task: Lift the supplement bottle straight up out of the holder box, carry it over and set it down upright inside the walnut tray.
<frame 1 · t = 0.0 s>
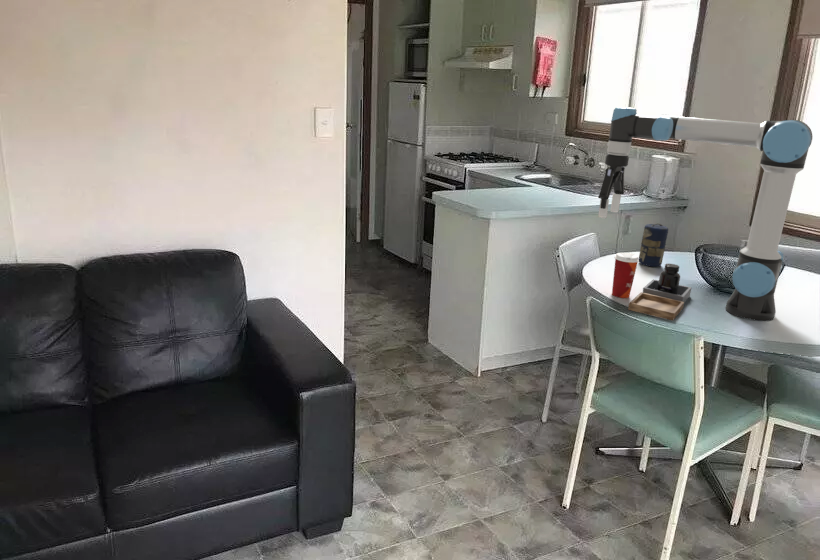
hand: (608, 214, 224), 28 cm above the table, tool pointing down, fingers open, 13 cm apart
supplement bottle: (665, 297, 230), resting in holder box
coffee cup: (620, 295, 228), on the table
holder box: (665, 296, 230), on the table
canister: (649, 265, 270), on the table
tray: (655, 309, 216), on the table
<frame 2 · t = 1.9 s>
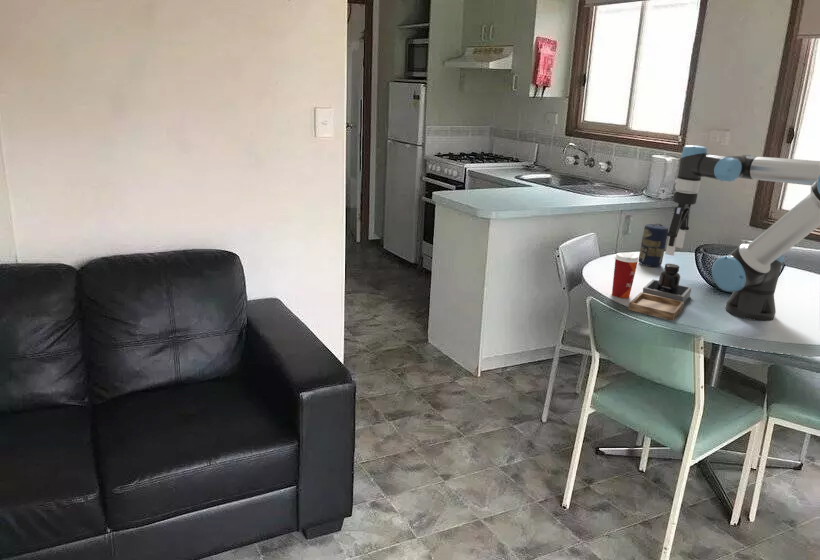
hand: (674, 251, 224), 17 cm above the table, tool pointing down, fingers open, 13 cm apart
nothing on the table moved.
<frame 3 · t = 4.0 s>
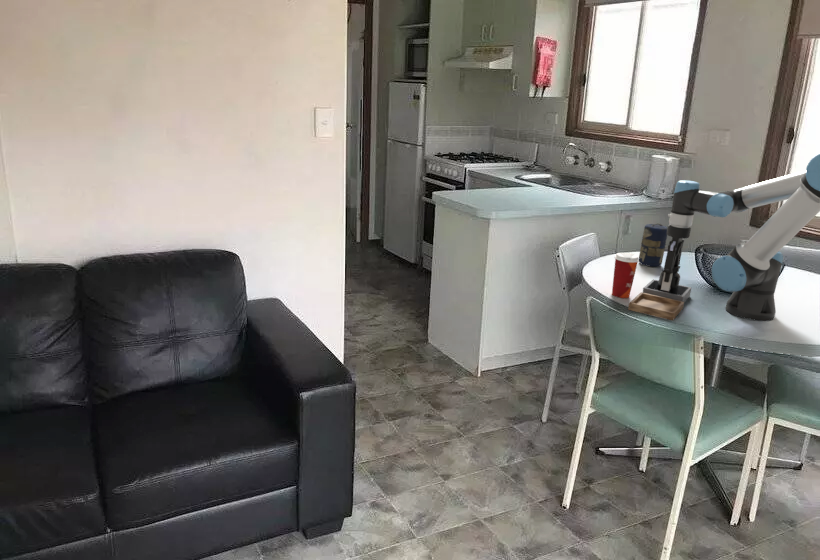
hand: (667, 287, 228), 4 cm above the table, tool pointing down, fingers closed on supplement bottle, 7 cm apart
supplement bottle: (665, 297, 230), resting in holder box, touching gripper
everything else where it was.
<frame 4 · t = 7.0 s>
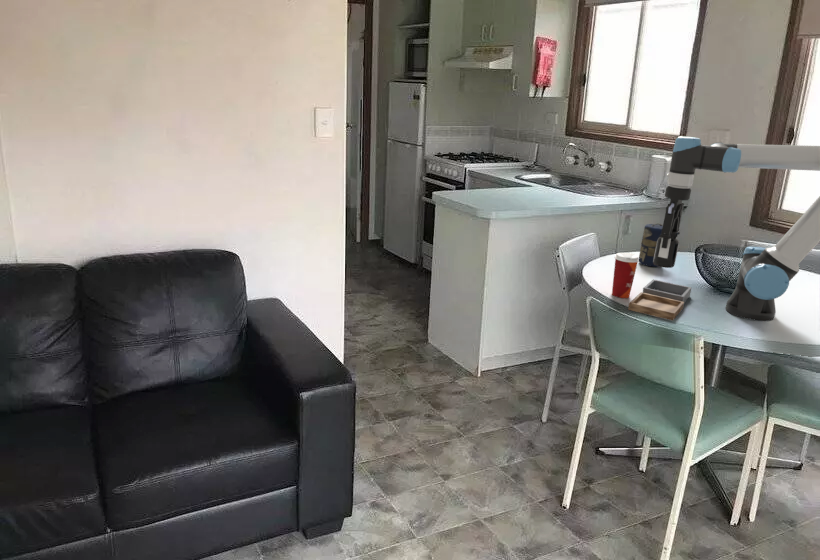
hand: (665, 255, 211), 19 cm above the table, tool pointing down, fingers closed on supplement bottle, 7 cm apart
supplement bottle: (663, 265, 212), point 15 cm above the table, touching gripper
everything else where it was.
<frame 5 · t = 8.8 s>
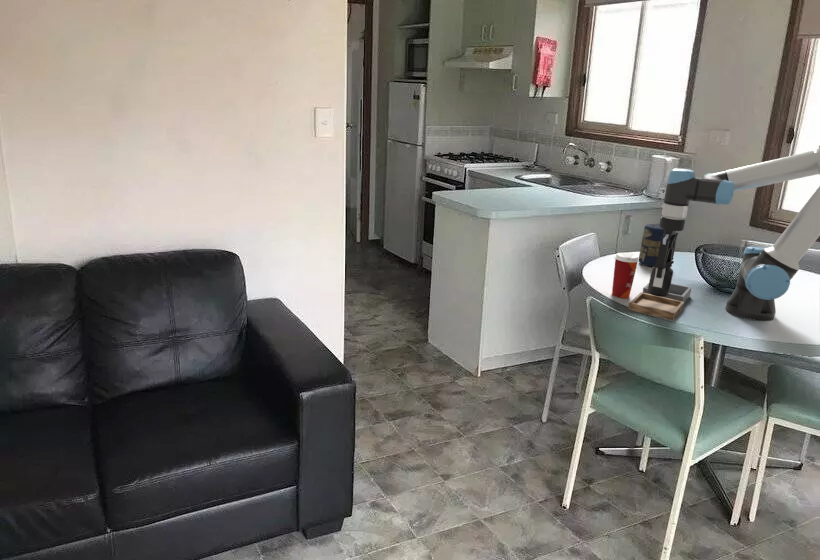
hand: (660, 283, 213), 9 cm above the table, tool pointing down, fingers closed on supplement bottle, 7 cm apart
supplement bottle: (657, 294, 215), point 5 cm above the table, touching gripper
everything else where it was.
when the fingers open (6 cm above the table, at t = 10.2 s): supplement bottle drops 1 cm, resting on tray.
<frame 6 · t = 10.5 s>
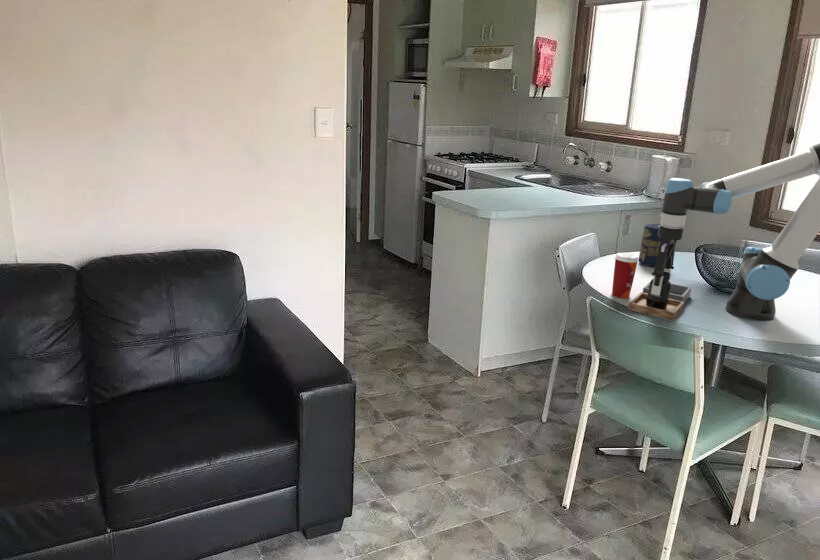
hand: (659, 290, 214), 7 cm above the table, tool pointing down, fingers open, 10 cm apart
supplement bottle: (656, 306, 216), point 1 cm above the table, touching tray
everything else where it was.
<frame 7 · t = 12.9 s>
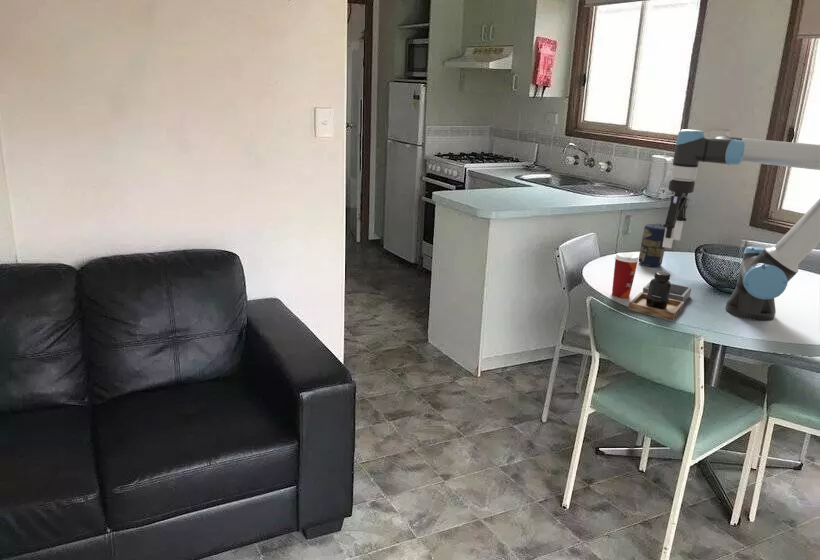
hand: (671, 243, 210), 23 cm above the table, tool pointing down, fingers open, 13 cm apart
nothing on the table moved.
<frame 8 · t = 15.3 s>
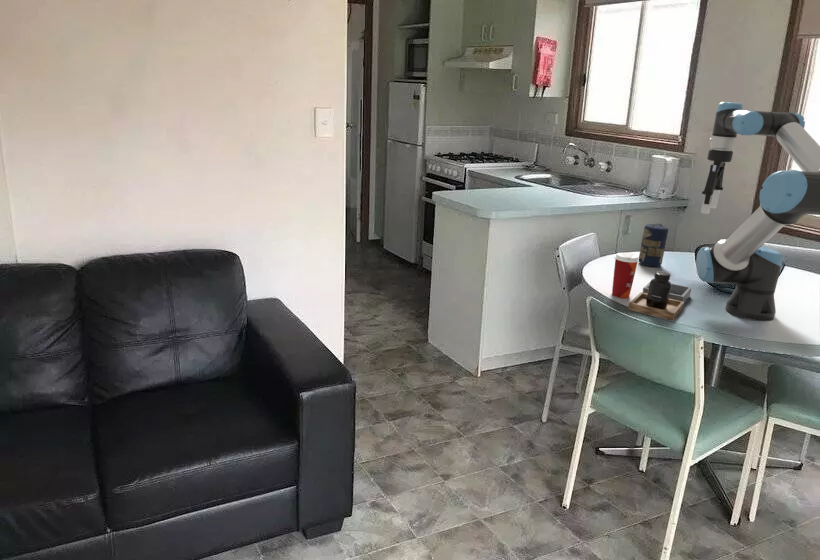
hand: (708, 210, 222), 32 cm above the table, tool pointing down, fingers open, 13 cm apart
nothing on the table moved.
at the end: supplement bottle inside the target area on the tray (0.0 cm from its centre), point 0.8 cm above the tray's base; supplement bottle tilted 0°; the gripper is holding nothing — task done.
